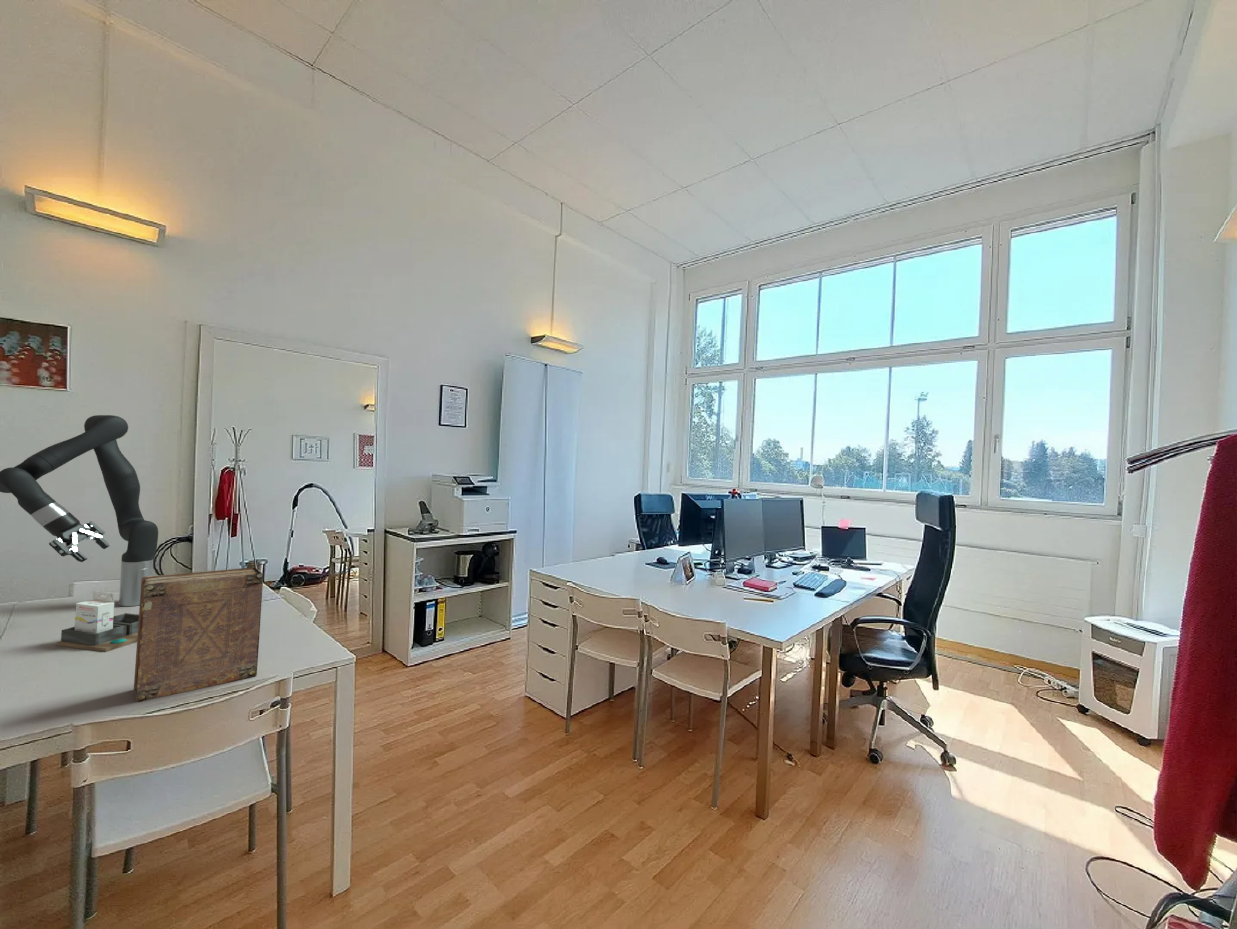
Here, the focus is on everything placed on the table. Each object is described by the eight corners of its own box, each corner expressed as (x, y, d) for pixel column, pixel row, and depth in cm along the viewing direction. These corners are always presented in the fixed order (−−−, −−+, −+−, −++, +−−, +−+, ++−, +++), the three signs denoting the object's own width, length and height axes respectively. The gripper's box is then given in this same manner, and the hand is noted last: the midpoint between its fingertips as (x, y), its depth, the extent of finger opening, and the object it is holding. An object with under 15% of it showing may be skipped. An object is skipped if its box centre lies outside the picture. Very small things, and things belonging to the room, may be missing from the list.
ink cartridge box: (72, 640, 157) (75, 593, 157) (90, 634, 162) (93, 590, 162) (95, 643, 156) (98, 596, 156) (113, 637, 161) (116, 592, 161)
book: (135, 703, 125) (142, 584, 125) (133, 689, 132) (140, 577, 132) (257, 676, 144) (263, 572, 143) (250, 665, 150) (256, 566, 150)
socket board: (127, 625, 175) (128, 612, 175) (172, 630, 173) (172, 617, 173) (56, 645, 155) (57, 631, 155) (106, 651, 153) (107, 637, 153)
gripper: (42, 523, 161) (85, 560, 167) (83, 504, 175) (121, 538, 180) (25, 534, 162) (68, 570, 168) (67, 514, 175) (106, 548, 181)
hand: (96, 554), depth 174 cm, fingers open, 8 cm apart
